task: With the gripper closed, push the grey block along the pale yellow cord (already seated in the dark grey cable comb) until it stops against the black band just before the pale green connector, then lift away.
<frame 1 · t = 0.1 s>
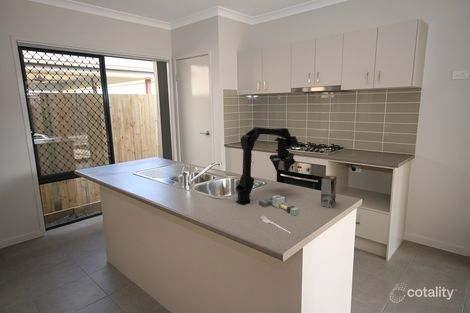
hand: (281, 172, 179), 15 cm above the worktop, fingers open, 9 cm apart
cord rig: (282, 208, 159), on the worktop
grey block: (278, 201, 161), point 3 cm above the worktop, slide at 0.0 cm
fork: (275, 226, 137), on the worktop
coffee box: (328, 204, 163), on the worktop
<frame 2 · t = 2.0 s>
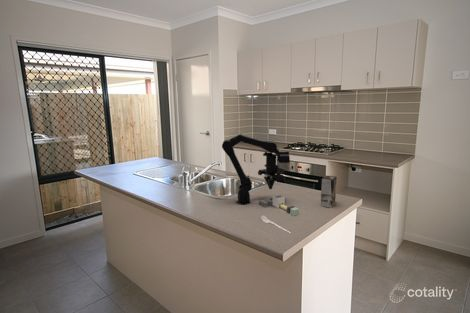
hand: (270, 189, 166), 8 cm above the worktop, fingers closed
nothing on the worktop moved.
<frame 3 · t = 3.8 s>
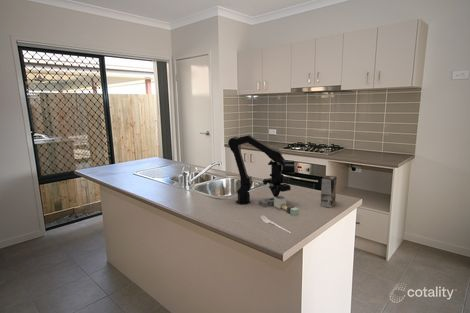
hand: (276, 198, 163), 4 cm above the worktop, fingers closed
grey block: (280, 202, 160), point 3 cm above the worktop, slide at 1.3 cm, touching gripper
everything else where it was.
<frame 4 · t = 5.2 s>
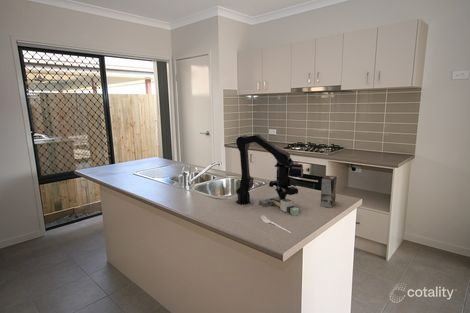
hand: (282, 202, 158), 4 cm above the worktop, fingers closed
grey block: (286, 205, 155), point 3 cm above the worktop, slide at 7.2 cm, touching cord rig, gripper
everything else where it was.
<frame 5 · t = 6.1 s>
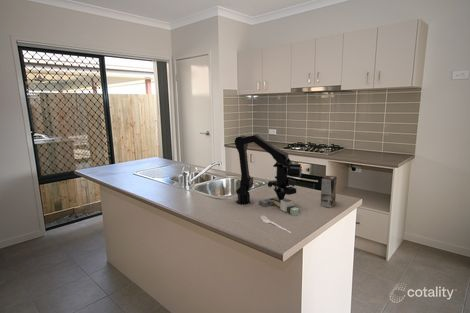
hand: (281, 201, 159), 3 cm above the worktop, fingers closed
grey block: (286, 205, 155), point 3 cm above the worktop, slide at 7.2 cm, touching cord rig
everything else where it was.
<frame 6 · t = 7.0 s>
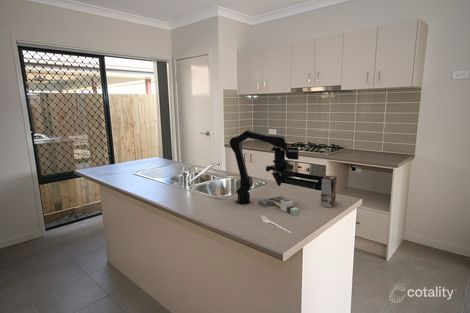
hand: (279, 185, 160), 12 cm above the worktop, fingers closed
nothing on the worktop moved.
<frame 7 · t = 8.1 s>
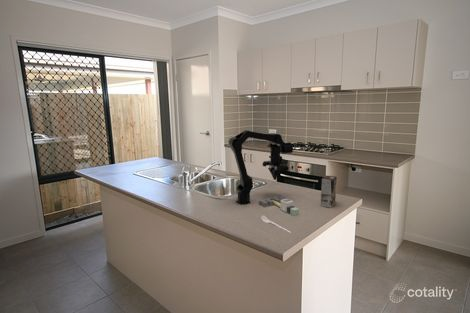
hand: (274, 179, 172), 12 cm above the worktop, fingers closed
nothing on the worktop moved.
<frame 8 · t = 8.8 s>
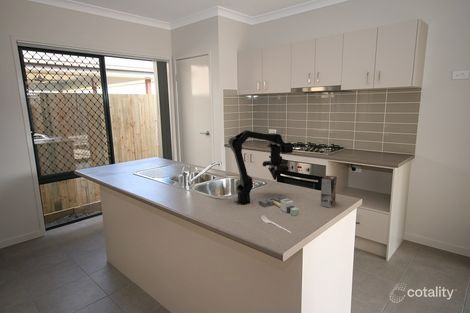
hand: (274, 179, 172), 12 cm above the worktop, fingers closed
nothing on the worktop moved.
at the end: grey block slide at 7.2 cm; the gripper is holding nothing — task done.
